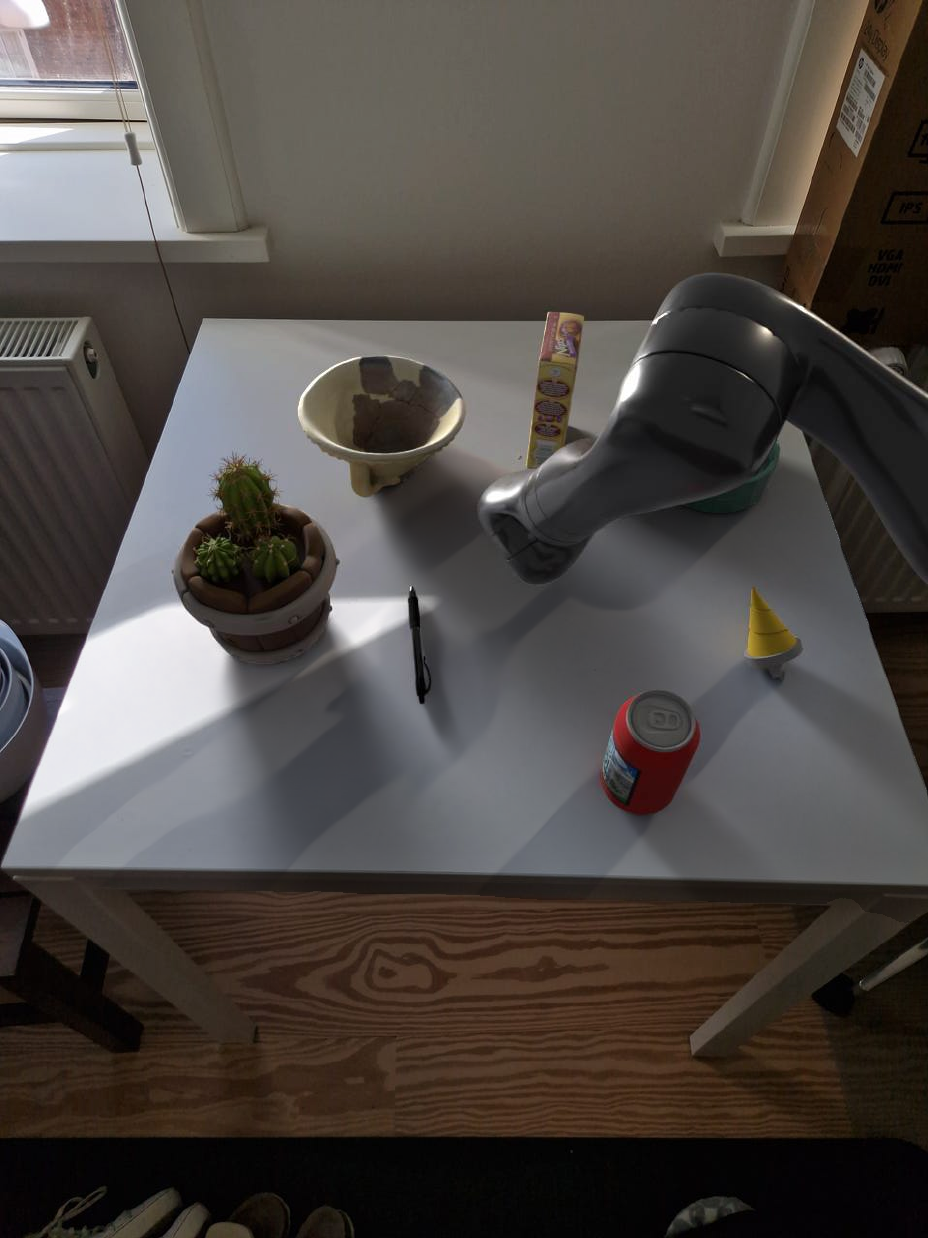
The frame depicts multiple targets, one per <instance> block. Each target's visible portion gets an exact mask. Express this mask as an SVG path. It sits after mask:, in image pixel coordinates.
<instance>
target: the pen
mask: <svg viewBox="0 0 928 1238" xmlns="http://www.w3.org/2000/svg"><path fill="white" fill-rule="evenodd" d="M419 604H420V603H419V597H418V596H417V591H416V589H415V587H414V586H413V585H411V586H410V587H409V589H408V598H407V605H408V622H409V629H410V632H411V644H412V657H413V668H414V685H415V694H416V697H418V703H419V704H420V705H424V704H425V703H426V695H428V694H429V693H430V691H431V689H432V683H433V681H432V680H433V679H432V674H431V670H430V668H429V666H428V664H427V662H426V660H427V658H426V655H423V647H422V646H423V645H422V635H421V629H422V626H421V614H420V605H419ZM425 671H426V673H427V678H428V685H426V684H427V683H426V678H425Z"/></svg>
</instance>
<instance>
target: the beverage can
mask: <svg viewBox="0 0 928 1238" xmlns="http://www.w3.org/2000/svg"><path fill="white" fill-rule="evenodd" d="M700 741H701V729H700V725H699V721H698V719H697V717H696V714H695V712H694V711H693V708H692V707H691V705H690V704H689V703H688V702H687V701H686V700H685V699H684V698H683V697H681V696H680V695H679V694H676V693H675V692H673V691H670V690H665V689H649V690H645V691H643V692H641V693H639V694H636V695H634V696H631V698H629V699H628V700H627V701H625V702H624V703H623V704H622V705H621V707H620V709H619V710H618V712H617V714H616V716H615V720H614V723H613V726H612V729H611V733H610V736H609V740H608V743H607V746H606V750H605V754H604V758H603V760H602V761H603V762H602V766H601V769H600V783H601V786H602V789H603V792H604V793H605V796H606V798H608V800H609V801H610V802H611V803H612V804H613V805H615V807H617V808H619V809H620V810H622V811H624V812H626V813H629V814H633V815H638V816H649V815H653V814H656V813H659V812H660V811H662V810H664V809H665V808H666V807H668V805H669V804H671V802H672V801H673V799H674V797H675V795H676V794H677V791H678V790H679V788H680V786H681V783H682V782H683V780H684V778H685V776H686V773H687V772H688V769H689V767H690V765H691V763H692V761H693V759H694V757H695V754H696V752H697V750H698V748H699V745H700Z"/></svg>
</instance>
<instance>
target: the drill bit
mask: <svg viewBox="0 0 928 1238" xmlns="http://www.w3.org/2000/svg"><path fill="white" fill-rule="evenodd" d="M749 608H750V610H749V622H748V623H749V624H748V638H747V639H748V640H747V648H746V649H745V650H744V652H743V657H744V660H745V664H746V665H747V666H748V667H751V668H754V669H755V668H756V669H761V668H766V669H767V670H768V673H769V674H770V676H771V677H772V678H778V679H779V680H780V681H781V682H782V683H784V681H785V678H786V668H787V662H790V661H792V660H794V659H797V658H798V657H799V656H800V655H802V654H803V652H804V647H803V643H802V640H801V637H800V636H797V635H793V633H792V632H791V631H790V630H789V629H788V628H787V627H786V625H785V624H784V622H782V620H781V619H780V618H779V617H778V615H777V614H776V613H775V611H773V610H772V608H771V606H770V605H769V604H768V603H767V602H766V600H765V599H764V597H762V595H761V594H760V593H759V592H758V591H757V589H756V588H755V587H753V586H751V593H750V607H749ZM771 610H772V611H771Z"/></svg>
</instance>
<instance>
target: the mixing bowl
mask: <svg viewBox="0 0 928 1238" xmlns="http://www.w3.org/2000/svg"><path fill="white" fill-rule="evenodd" d="M780 453H781V447H780V442H779V439H777V441H776V443H775V445H774V448H773V450H772V452H771V453H770V455H769V457H768V458H767V460H766V461H765V463H764V464H763V466H762V467H761V468H760V470H759V471H758V472H757V473H756V474H755V475H754V476H753V477H752V478H751V479H750V480H748V481H747V482H745V483H744V484H742V485H740V486H739V487H737V488H734V489H732V490H730V491H728V492H725V493H722V494H720V495H717V496H713V497H710V498H707V499H703V500H699V501H695V502H690V503H686V504H682V505H683V506H685V507H687V508H690V509H692V510H694V511H695V510H696V511H700V512H703V513H704V512H705V513H709V514H731V513H735V512H739V511H744V510H747V509H749V508H750V507H751V506H753V505H755V504H756V503H758V502H759V501H760V500H761V499H762V498H763V496H764V495H765V493H766V492H767V491H768V488H769V486H770V483H771V481H772V478H773V476H774V475H775V471H776V469H777V467H778V464H779V462H780V461H779V460H780Z"/></svg>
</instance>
